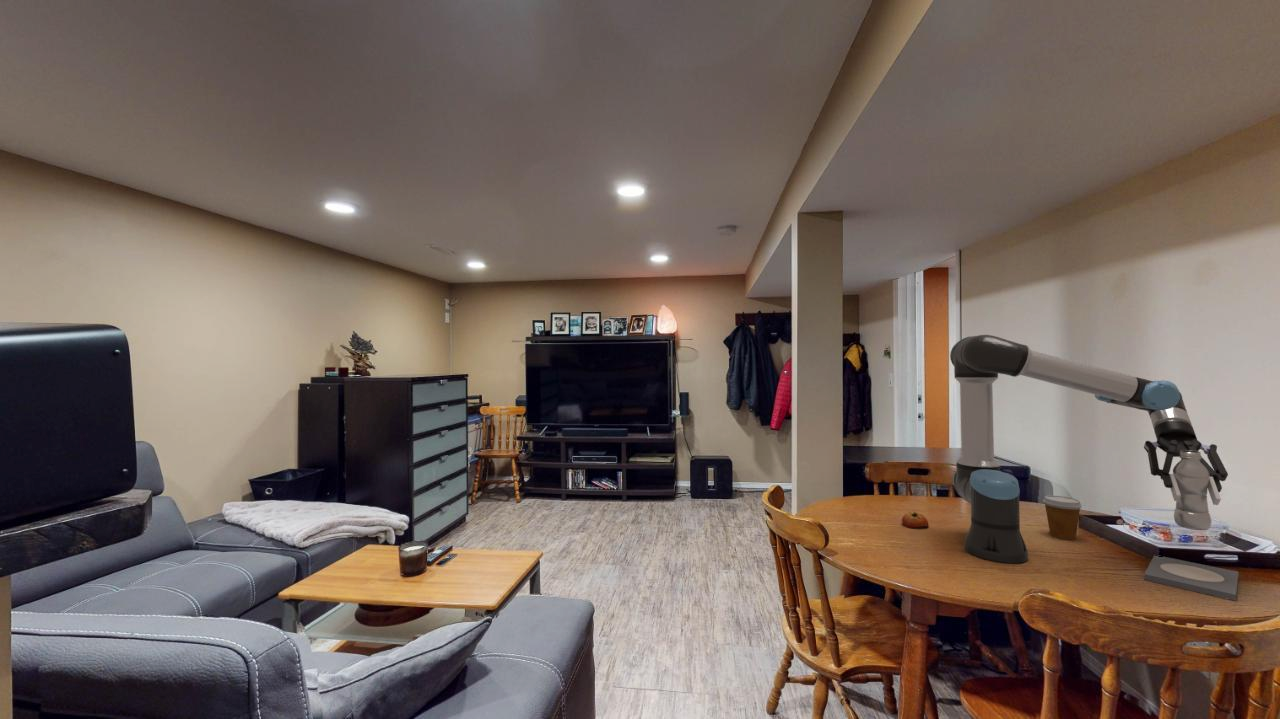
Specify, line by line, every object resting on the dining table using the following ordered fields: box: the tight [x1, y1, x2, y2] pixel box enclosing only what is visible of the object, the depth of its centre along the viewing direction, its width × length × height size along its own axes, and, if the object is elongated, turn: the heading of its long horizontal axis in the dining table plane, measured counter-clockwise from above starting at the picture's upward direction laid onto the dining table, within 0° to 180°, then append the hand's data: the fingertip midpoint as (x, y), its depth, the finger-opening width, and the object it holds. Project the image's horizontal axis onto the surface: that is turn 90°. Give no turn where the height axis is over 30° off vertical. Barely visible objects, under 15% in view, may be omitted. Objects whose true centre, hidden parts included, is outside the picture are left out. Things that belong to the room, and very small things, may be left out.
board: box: [1143, 554, 1239, 602], centre depth 127 cm, size 20×15×2 cm
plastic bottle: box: [1172, 450, 1212, 531], centre depth 127 cm, size 6×7×20 cm
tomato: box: [901, 511, 930, 529], centre depth 171 cm, size 8×7×7 cm
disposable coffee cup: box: [1042, 495, 1083, 540], centre depth 159 cm, size 10×10×12 cm
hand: (1197, 499), depth 124 cm, fingers closed on plastic bottle, 6 cm apart
